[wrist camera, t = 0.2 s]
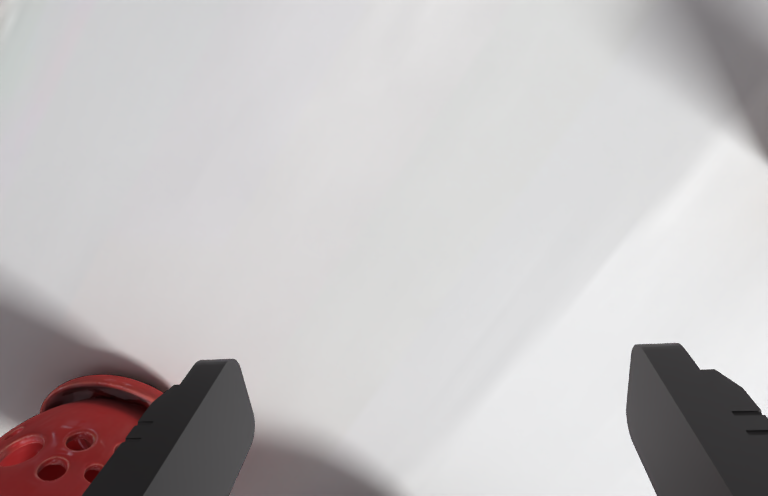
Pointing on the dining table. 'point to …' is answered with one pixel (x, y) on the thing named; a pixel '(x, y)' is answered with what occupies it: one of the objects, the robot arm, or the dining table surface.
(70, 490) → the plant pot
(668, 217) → the dining table surface
